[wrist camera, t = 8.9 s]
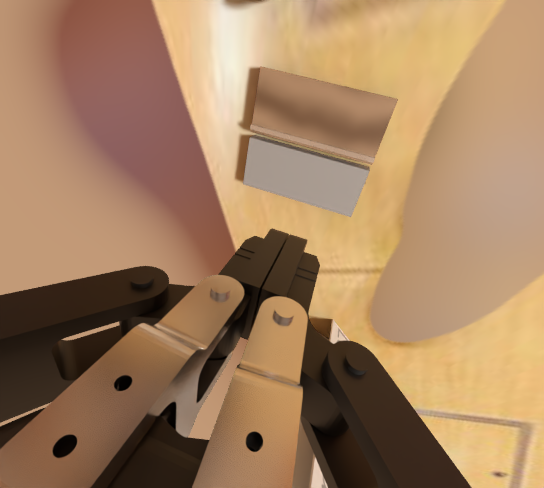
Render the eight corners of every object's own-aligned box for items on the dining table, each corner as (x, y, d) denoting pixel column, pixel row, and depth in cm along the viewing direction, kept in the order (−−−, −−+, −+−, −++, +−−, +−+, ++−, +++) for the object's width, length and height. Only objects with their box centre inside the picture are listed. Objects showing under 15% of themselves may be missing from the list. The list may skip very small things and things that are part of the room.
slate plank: (254, 135, 40) (249, 137, 38) (369, 166, 37) (369, 170, 36) (247, 180, 44) (243, 183, 42) (351, 211, 41) (350, 217, 40)
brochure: (371, 368, 56) (377, 596, 31) (347, 373, 58) (334, 587, 33) (333, 319, 52) (305, 530, 27) (309, 327, 55) (264, 525, 30)
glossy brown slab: (265, 67, 35) (259, 66, 33) (396, 98, 33) (398, 99, 31) (255, 129, 40) (249, 131, 37) (371, 161, 37) (372, 165, 35)
